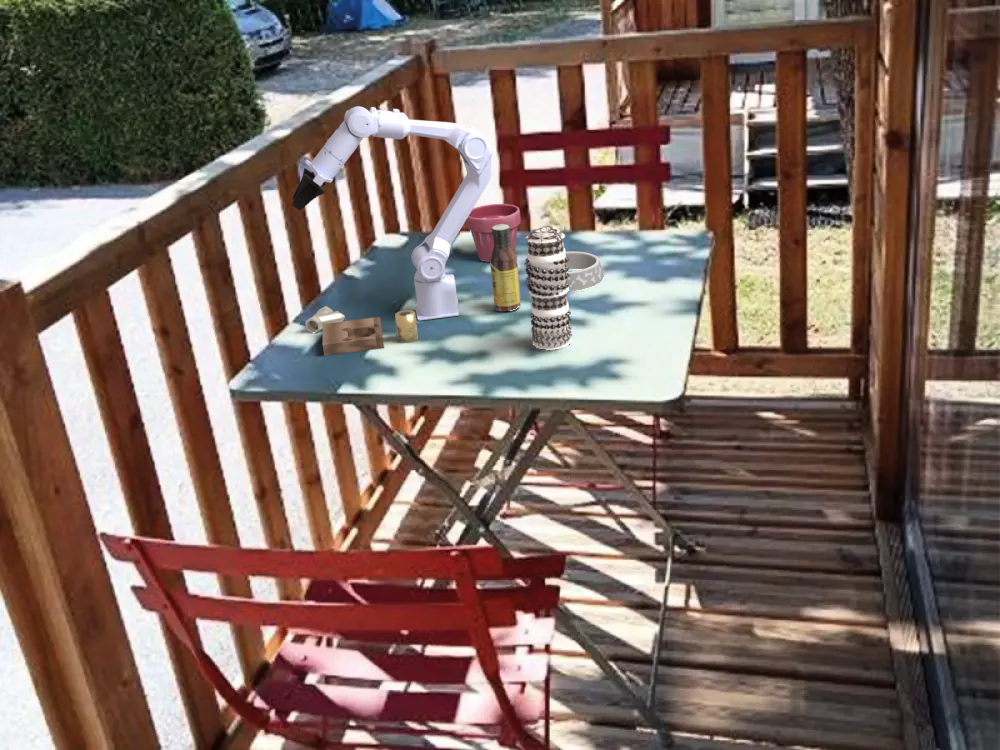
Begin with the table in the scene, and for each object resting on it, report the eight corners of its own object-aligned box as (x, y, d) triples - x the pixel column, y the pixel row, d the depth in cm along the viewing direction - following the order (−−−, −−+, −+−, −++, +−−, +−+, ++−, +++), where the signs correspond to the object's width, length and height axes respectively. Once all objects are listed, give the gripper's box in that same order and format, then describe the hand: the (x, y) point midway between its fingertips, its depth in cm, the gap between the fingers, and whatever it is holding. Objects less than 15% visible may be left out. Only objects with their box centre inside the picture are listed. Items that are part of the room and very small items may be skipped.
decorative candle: (568, 332, 246) (561, 220, 236) (578, 347, 238) (571, 233, 228) (527, 338, 245) (518, 226, 235) (535, 353, 237) (527, 238, 227)
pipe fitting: (347, 323, 264) (320, 320, 266) (346, 307, 262) (319, 305, 264) (333, 336, 257) (306, 333, 259) (332, 320, 256) (304, 317, 257)
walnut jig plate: (381, 327, 258) (379, 316, 257) (384, 347, 246) (382, 337, 245) (324, 334, 257) (322, 324, 256) (324, 355, 245) (322, 345, 244)
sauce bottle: (497, 303, 266) (490, 222, 258) (523, 303, 265) (517, 221, 257) (491, 313, 260) (484, 230, 252) (518, 313, 259) (511, 230, 251)
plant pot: (458, 260, 299) (454, 213, 294) (497, 246, 308) (493, 200, 303) (495, 270, 289) (491, 221, 284) (534, 255, 298) (531, 208, 293)
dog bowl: (584, 298, 266) (583, 276, 264) (517, 289, 275) (516, 268, 273) (617, 275, 279) (616, 254, 277) (552, 267, 288) (550, 247, 286)
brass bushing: (417, 334, 252) (414, 308, 250) (418, 341, 248) (415, 315, 246) (397, 336, 252) (394, 311, 250) (398, 343, 248) (395, 318, 246)
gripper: (318, 139, 250) (281, 187, 252) (319, 147, 237) (280, 199, 239) (344, 159, 252) (307, 206, 255) (346, 169, 239) (307, 219, 241)
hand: (296, 204), depth 247 cm, fingers open, 7 cm apart
